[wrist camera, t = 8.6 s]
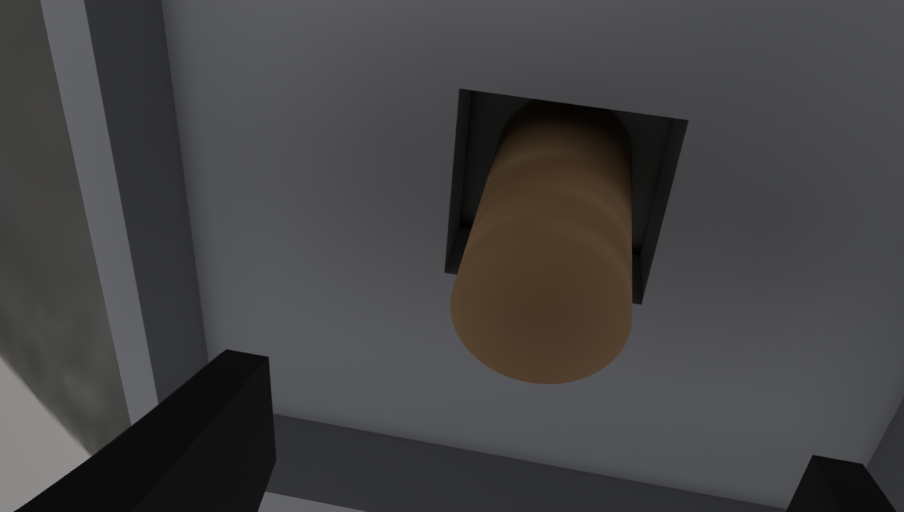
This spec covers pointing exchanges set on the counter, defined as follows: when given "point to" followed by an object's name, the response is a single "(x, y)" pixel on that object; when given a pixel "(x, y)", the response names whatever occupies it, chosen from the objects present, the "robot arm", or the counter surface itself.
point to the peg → (550, 248)
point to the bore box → (443, 242)
